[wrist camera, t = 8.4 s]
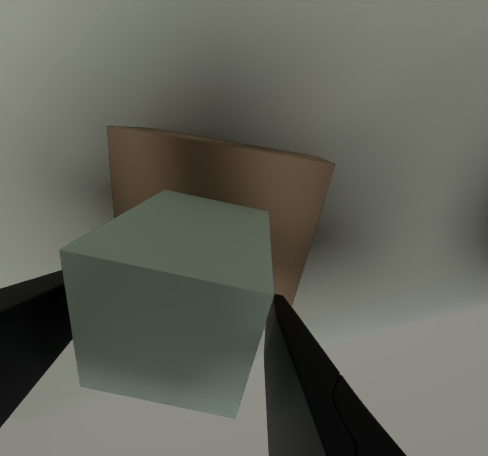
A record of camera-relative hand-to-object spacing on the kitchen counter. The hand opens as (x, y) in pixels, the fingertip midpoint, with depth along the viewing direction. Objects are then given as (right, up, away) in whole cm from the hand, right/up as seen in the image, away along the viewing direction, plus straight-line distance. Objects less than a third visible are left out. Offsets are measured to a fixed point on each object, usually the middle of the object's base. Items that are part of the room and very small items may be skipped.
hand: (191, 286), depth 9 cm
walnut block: (+1, +3, +7) cm, 7 cm away
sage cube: (0, +1, +3) cm, 3 cm away
